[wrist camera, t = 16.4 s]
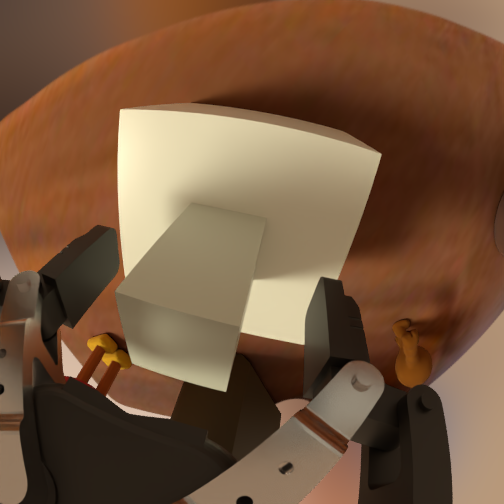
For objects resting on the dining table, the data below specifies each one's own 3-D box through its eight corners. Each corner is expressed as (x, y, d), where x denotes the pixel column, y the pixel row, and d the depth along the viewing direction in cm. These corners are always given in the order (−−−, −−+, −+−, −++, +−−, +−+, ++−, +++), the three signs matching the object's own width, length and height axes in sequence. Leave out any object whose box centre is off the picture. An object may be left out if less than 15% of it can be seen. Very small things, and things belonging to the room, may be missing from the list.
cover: (343, 131, 16) (465, 217, 4) (305, 261, 22) (303, 443, 10) (191, 102, 17) (5, 137, 4) (179, 233, 22) (78, 377, 10)
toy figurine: (422, 354, 26) (435, 400, 20) (394, 364, 28) (404, 412, 22) (410, 282, 22) (435, 337, 16) (374, 297, 23) (390, 355, 17)
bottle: (247, 349, 29) (195, 572, 8) (283, 411, 36) (262, 562, 15) (186, 354, 31) (118, 540, 10) (235, 413, 38) (203, 551, 17)
